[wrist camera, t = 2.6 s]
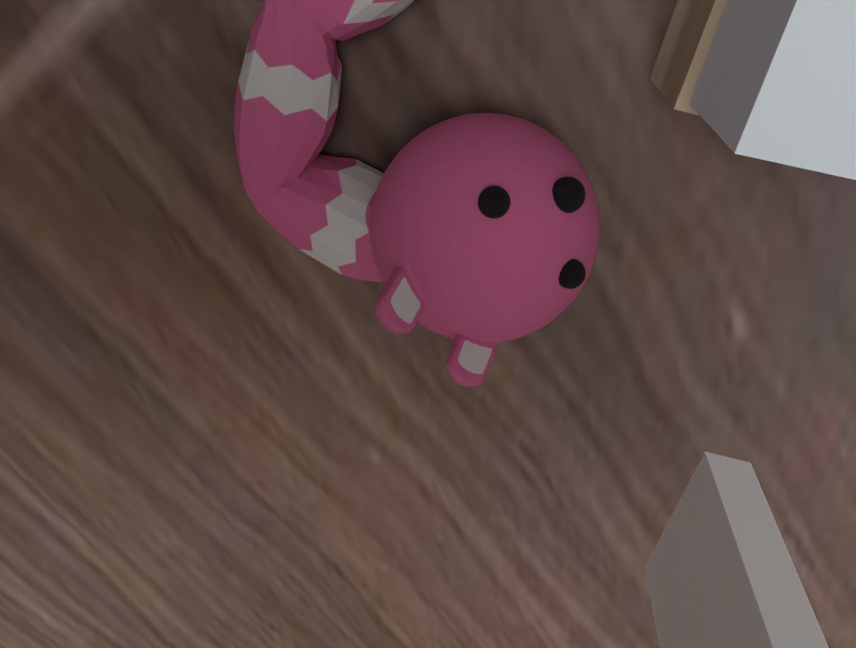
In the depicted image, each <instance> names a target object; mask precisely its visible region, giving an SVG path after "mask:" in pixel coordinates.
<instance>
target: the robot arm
mask: <svg viewBox="0 0 856 648" xmlns="http://www.w3.org/2000/svg"><path fill="white" fill-rule="evenodd" d="M644 570H645V575H646V580H647V586H648V591H649V596H650V601H651V606H652V612H653V617H654V622H655V627H656V632H657V637H658V643H659V648H829V647H828V645H827V642H826V640H825V638H824V635H823V633H822V631H821V628H820V626H819V624H818V621H817V619H816V616H815V614H814V612H813V609H812V607H811V605H810V602H809V600H808V597H807V595H806V593H805V590H804V588H803V586H802V583H801V581H800V579H799V576H798V574H797V571H796V569H795V567H794V564H793V562H792V560H791V557H790V555H789V552H788V550H787V548H786V545H785V543H784V541H783V538H782V536H781V534H780V531H779V529H778V526H777V524H776V522H775V519H774V517H773V515H772V512H771V510H770V507H769V505H768V503H767V500H766V498H765V496H764V493H763V491H762V489H761V486H760V484H759V481H758V479H757V477H756V474H755V472H754V470H753V467H752V465H751V463H750V462H746V461H742V460H737V459H733V458H729V457H725V456H721V455H717V454H713V453H709V452H704V454H703V456H702V458H701V460H700V462H699V464H698V466H697V468H696V470H695V472H694V474H693V475H692V477H691V479H690V481H689V483H688V485H687V487H686V489H685V491H684V493H683V495H682V497H681V498H680V500H679V502H678V504H677V506H676V508H675V510H674V512H673V514H672V516H671V518H670V520H669V522H668V523H667V525H666V527H665V529H664V531H663V533H662V535H661V537H660V539H659V541H658V543H657V545H656V547H655V548H654V550H653V552H652V554H651V556H650V558H649V560H648V562H647V564H646V566H645V568H644Z"/></svg>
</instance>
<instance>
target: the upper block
mask: <svg viewBox="0 0 856 648" xmlns="http://www.w3.org/2000/svg"><path fill="white" fill-rule="evenodd" d="M690 105H691V106H692V107H693V108H694V109H695V110H696V111H697V112H698V113H699V115H700V116H701V117H702V118H703V119H704V120H705V121H706V122H707V123H708V125H709V126H710V127H711V128H712V129H713V130H714V131H715V132H716V133H717V135H718V136H719V137H720V138H721V139H722V140H723V141H724V142H725V143H726V145H727V146H728V147H729V148H730V149H731V150H732V151H733V152H734V153H735V154H739V155H744V156H749V157H753V158H758V159H762V160H767V161H771V162H776V163H781V164H785V165H790V166H794V167H799V168H803V169H808V170H812V171H817V172H822V173H826V174H831V175H835V176H840V177H844V178H849V179H854V180H856V0H727V2H726V5H725V8H724V11H723V13H722V16H721V19H720V22H719V24H718V27H717V30H716V33H715V35H714V38H713V41H712V43H711V46H710V49H709V52H708V54H707V57H706V60H705V63H704V65H703V68H702V71H701V74H700V76H699V79H698V82H697V85H696V87H695V90H694V93H693V96H692V98H691V101H690Z"/></svg>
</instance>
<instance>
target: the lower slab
mask: <svg viewBox="0 0 856 648" xmlns="http://www.w3.org/2000/svg"><path fill="white" fill-rule="evenodd" d="M726 2H727V0H677V3H676V5H675V8H674V11H673V14H672V17H671V19H670V22H669V25H668V28H667V31H666V33H665V36H664V39H663V42H662V45H661V47H660V50H659V53H658V56H657V58H656V61H655V64H654V67H653V70H652V72H651V75H650V79H651V81H652V82H653V83H654V85H655V86H656V87H657V88H658V90H659V91H660V92H661V94H662V95H663V96H664V97H665V99H666V100H667V101H668V102H669V104H670V105H671V106H672V108H673V109H675V110H679V111H683V112H687V113H691V114H695V115H699V113H698V112H697V111H696V110H695V109H694V108H693V107H692V106H691V105H690V101H691V98H692V96H693V93H694V90H695V87H696V85H697V82H698V79H699V76H700V74H701V71H702V68H703V65H704V63H705V60H706V57H707V54H708V52H709V49H710V46H711V43H712V41H713V38H714V35H715V33H716V30H717V27H718V24H719V22H720V19H721V16H722V13H723V11H724V8H725V5H726ZM699 116H700V115H699Z"/></svg>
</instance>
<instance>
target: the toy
mask: <svg viewBox="0 0 856 648" xmlns="http://www.w3.org/2000/svg"><path fill="white" fill-rule="evenodd" d="M413 1H414V0H264V1H263V4H262V7H261V11H260V13H259V15H258V17H257V19H256V21H255V23H254V25H253V28H252V31H251V34H250V38H249V42H248V46H247V49H246V53H245V57H244V61H243V65H242V68H241V72H240V76H239V80H238V84H237V90H236V98H235V110H234V138H235V148H236V155H237V161H238V166H239V170H240V174H241V178H242V182H243V185H244V189H245V191H246V193H247V195H248V196H249V198H250V200H251V202H252V204H253V205H254V207H255V209H256V211H257V212H258V213H259V214H260V215H261V216H262V217H263V218H264V219H265V220H266V221H267V222H268V223H269V224H270V225H271V226H272V227H273V228H274V229H275V230H277V231H278V232H279V233H280V234H281V235H282V236H283V237H285V238H286V239H287V240H288V241H289V242H291V243H292V244H293V245H294V246H295V247H296V248H298V249H299V250H301V251H302V252H304V253H306V254H307V255H309V256H311V257H312V258H314V259H316V260H317V261H319V262H321V263H322V264H324V265H326V266H327V267H329V268H331V269H333V270H334V271H336V272H338V273H339V274H341V275H343V276H347V277H350V278H354V279H359V280H365V281H371V282H383V283H384V285H385V286H384V288H383V290H382V292H381V294H380V296H379V298H378V300H377V302H376V304H375V312H376V315H377V317H378V319H379V320H380V322H381V323H382V324H383V325H384V327H385V328H387V329H389V330H390V331H392V332H394V333H399V334H406V333H409V332H411V330H412V329H413V327H415V325H416V323H417V322H418V323H420V324H421V325H423V326H424V327H426V328H428V329H430V330H431V331H433V332H435V333H438V334H440V335H442V336H445V337H448V338H451V339H455V340H454V342H453V345H452V348H451V350H450V353H449V356H448V359H447V362H446V366H447V371H448V372H449V374H450V376H451V377H452V378H453V379H454V380H455V381H456V382H457V383H458V384H459V385H462V386H465V387H473V386H479V385H480V384H481V383H482V382H483V380H484V378H485V376H486V375H487V372H488V370H489V367H490V365H491V362H492V360H493V357H494V355H495V352H496V345H497V344H498V343H500V342H505V341H509V340H514V339H517V338H520V337H523V336H525V335H528V334H530V333H533V332H535V331H537V330H538V329H540V328H542V327H544V326H545V325H547V324H548V323H550V322H551V321H553V320H554V319H555V318H556V317H558V316H559V315H560V314H561V313H562V312H563V311H564V310H565V309H566V308H567V307H568V306H569V305H570V304H571V303H572V302H573V301H574V299H575V298H576V297H577V295H578V294H579V292H580V291H581V289H582V288H583V286H584V284H585V283H586V281H587V279H588V277H589V274H590V272H591V270H592V267H593V265H594V261H595V258H596V254H597V250H598V244H599V233H600V221H599V210H598V205H597V200H596V196H595V193H594V190H593V187H592V184H591V182H590V180H589V178H588V176H587V174H586V172H585V170H584V168H583V166H582V165H581V163H580V162H579V161H578V159H577V158H576V157H575V155H574V154H573V153H572V151H571V150H570V149H569V148H568V147H567V146H566V145H565V144H564V143H563V142H562V141H561V140H559V139H558V138H557V137H556V136H554V135H553V134H552V133H550V132H549V131H547V130H545V129H544V128H542V127H540V126H539V125H537V124H534V123H532V122H530V121H527V120H525V119H522V118H519V117H515V116H511V115H507V114H498V113H487V112H486V113H472V114H464V115H461V116H457V117H454V118H450V119H447V120H444V121H442V122H439V123H437V124H435V125H433V126H431V127H429V128H428V129H426V130H424V131H423V132H421V133H420V134H418V135H417V136H416V137H414V138H413V139H412V140H411V141H410V142H409V143H407V144H406V145H405V146H404V147H403V148H402V149H401V150H400V152H399V153H398V154H397V155H396V156H395V157H394V159H393V160H392V162H391V163H390V165H389V166H388V168H387V169H386V171H385V173H382V172H380V171H379V170H377V169H375V168H373V167H371V166H369V165H367V164H365V163H363V162H361V161H359V160H357V159H352V158H343V157H334V156H325V155H318V154H319V153H320V152H321V150H322V149H323V147H324V145H325V143H326V141H327V140H328V138H329V136H330V134H331V133H332V130H333V127H334V123H335V119H336V115H337V111H338V103H339V93H340V82H341V72H342V63H341V61H340V60H339V58H338V54H337V46H336V41H337V40H341V41H346V40H348V39H350V38H352V37H354V36H356V35H359V34H362V33H365V32H367V31H370V30H373V29H376V28H379V27H381V26H382V25H384V24H385V23H386V22H388V21H389V20H391V19H392V18H393V17H395V16H396V15H398V14H399V13H400V12H402V11H403V10H405V9H406V8H407V7H408V6H409V5H410V4H411V3H412V2H413Z"/></svg>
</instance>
